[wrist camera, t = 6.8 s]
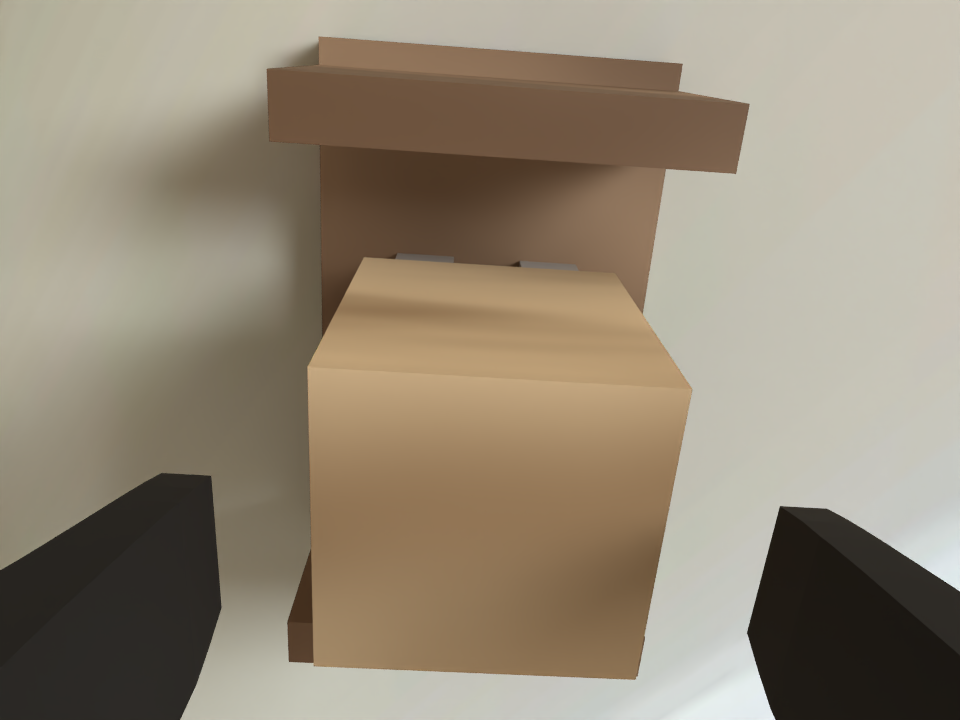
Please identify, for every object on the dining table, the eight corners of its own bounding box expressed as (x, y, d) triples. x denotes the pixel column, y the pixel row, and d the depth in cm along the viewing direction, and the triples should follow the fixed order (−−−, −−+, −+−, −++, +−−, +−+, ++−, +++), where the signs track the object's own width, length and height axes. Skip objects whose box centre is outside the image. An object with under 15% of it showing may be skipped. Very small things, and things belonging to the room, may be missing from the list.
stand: (595, 545, 20) (633, 695, 15) (331, 533, 20) (289, 680, 15) (669, 63, 15) (756, 67, 11) (327, 37, 15) (264, 30, 10)
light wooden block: (584, 488, 15) (635, 679, 10) (361, 476, 15) (313, 665, 10) (615, 272, 13) (692, 388, 9) (363, 256, 13) (307, 366, 9)
